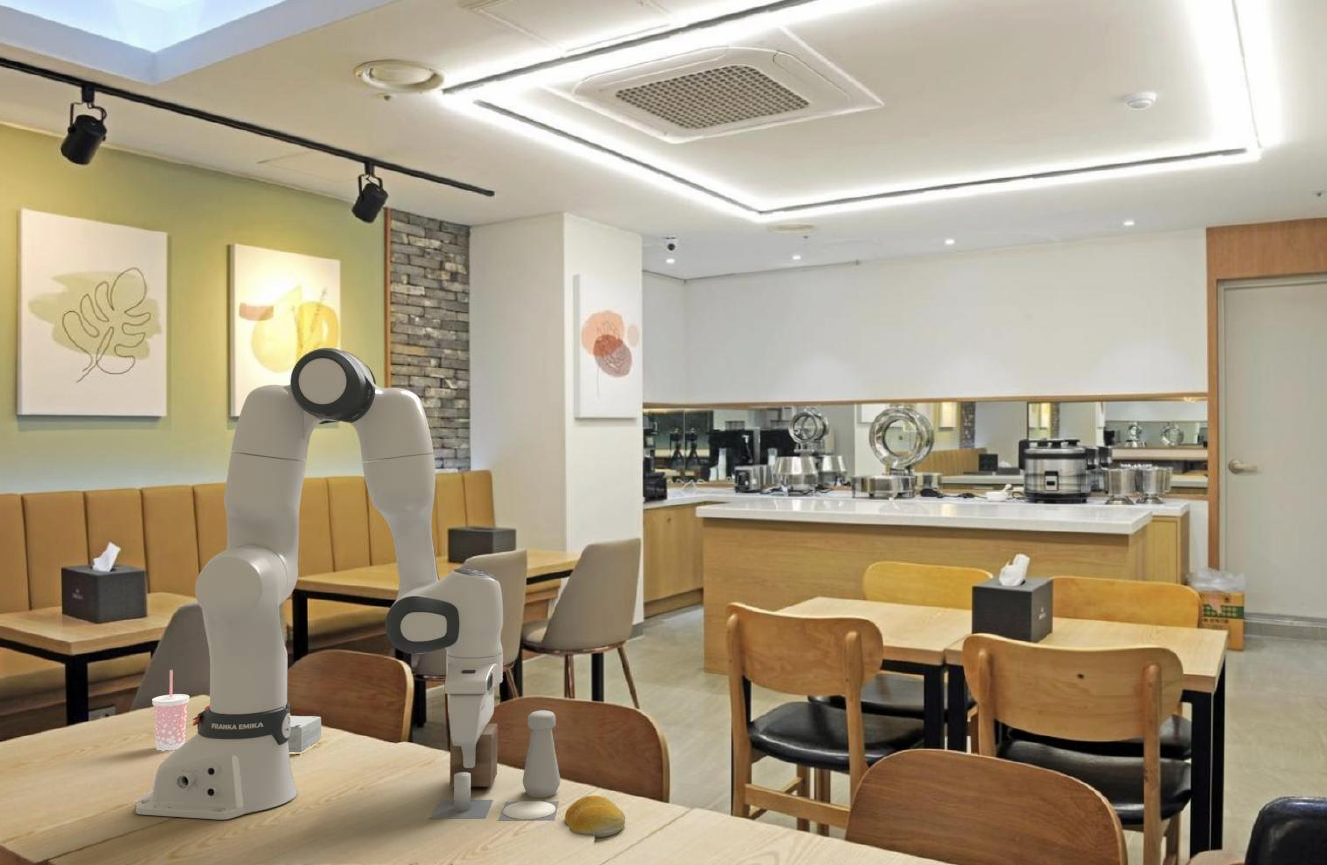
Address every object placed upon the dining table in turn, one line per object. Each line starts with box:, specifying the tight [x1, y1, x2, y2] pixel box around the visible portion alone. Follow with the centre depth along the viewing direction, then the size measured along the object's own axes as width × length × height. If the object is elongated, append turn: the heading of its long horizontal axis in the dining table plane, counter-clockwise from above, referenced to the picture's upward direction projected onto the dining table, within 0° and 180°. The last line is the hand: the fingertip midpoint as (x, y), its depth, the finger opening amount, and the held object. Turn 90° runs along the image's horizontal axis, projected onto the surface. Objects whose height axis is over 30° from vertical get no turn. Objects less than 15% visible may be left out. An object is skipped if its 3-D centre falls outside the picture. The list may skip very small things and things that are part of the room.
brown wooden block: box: [449, 723, 498, 788], centre depth 161 cm, size 6×6×8 cm
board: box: [429, 772, 494, 820], centre depth 150 cm, size 8×8×6 cm
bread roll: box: [564, 795, 626, 838], centre depth 144 cm, size 8×9×4 cm
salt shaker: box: [522, 710, 561, 799], centre depth 157 cm, size 6×6×13 cm
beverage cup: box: [151, 669, 190, 752], centre depth 185 cm, size 6×6×14 cm
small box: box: [288, 715, 322, 752], centre depth 184 cm, size 8×8×5 cm
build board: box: [498, 800, 560, 822], centre depth 149 cm, size 8×8×1 cm
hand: (473, 759), depth 161 cm, fingers closed on brown wooden block, 6 cm apart
